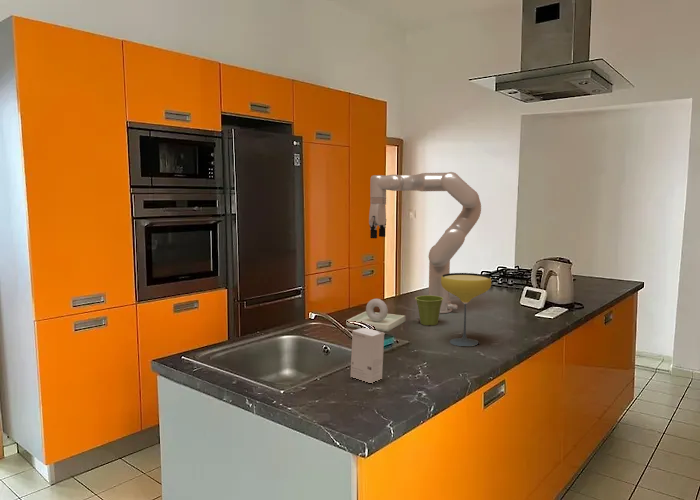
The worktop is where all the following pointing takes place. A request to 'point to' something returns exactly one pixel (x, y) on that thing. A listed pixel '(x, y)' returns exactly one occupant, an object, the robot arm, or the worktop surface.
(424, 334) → the worktop surface
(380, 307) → the donut
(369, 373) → the skincare box
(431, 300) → the plant pot
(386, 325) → the tray
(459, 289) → the cocktail glass
